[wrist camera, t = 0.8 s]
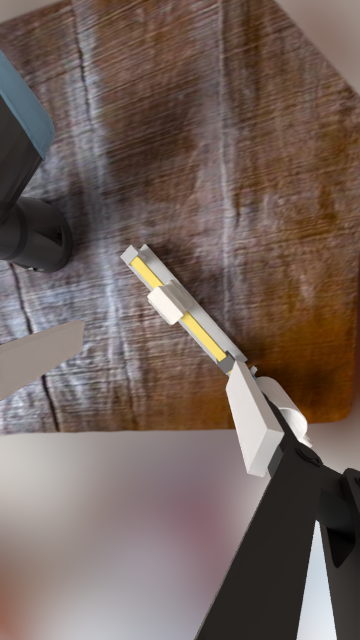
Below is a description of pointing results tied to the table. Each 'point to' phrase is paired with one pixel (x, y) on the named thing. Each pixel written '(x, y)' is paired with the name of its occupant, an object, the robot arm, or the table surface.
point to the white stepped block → (170, 301)
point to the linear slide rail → (195, 309)
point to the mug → (285, 408)
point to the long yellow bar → (190, 321)
